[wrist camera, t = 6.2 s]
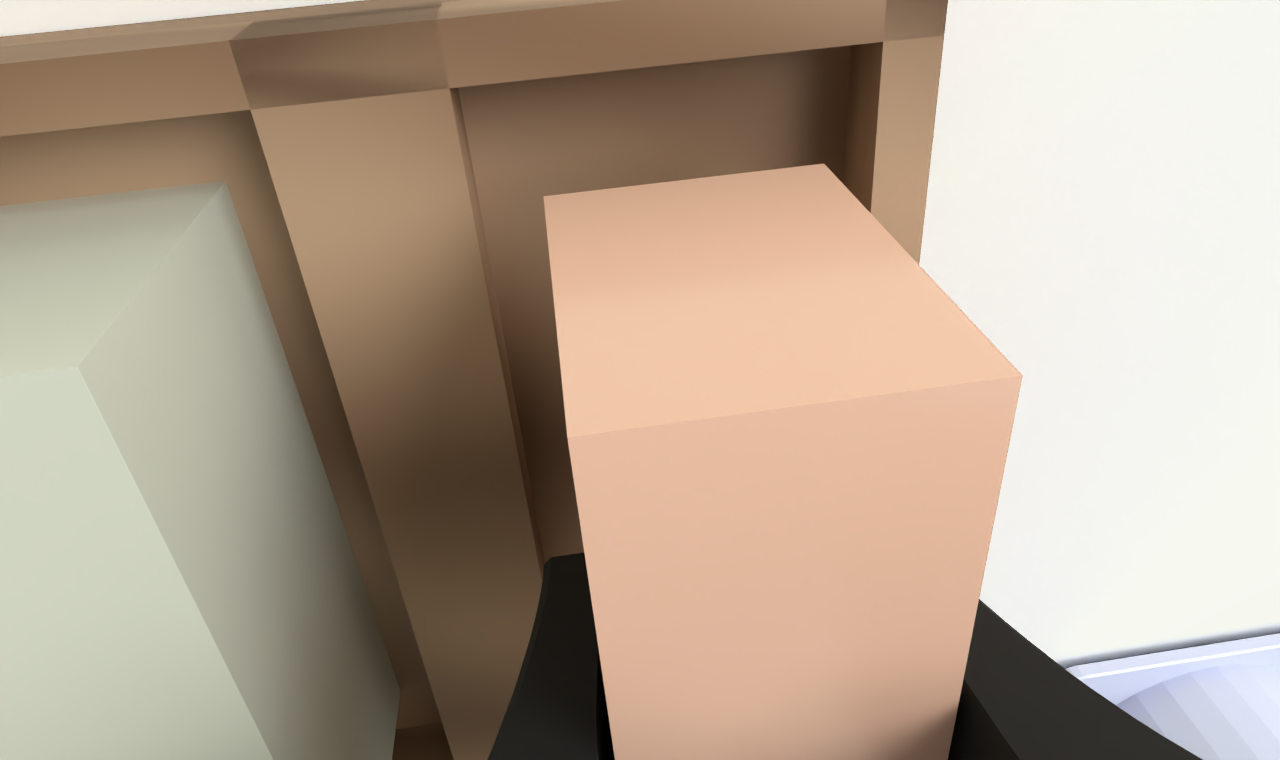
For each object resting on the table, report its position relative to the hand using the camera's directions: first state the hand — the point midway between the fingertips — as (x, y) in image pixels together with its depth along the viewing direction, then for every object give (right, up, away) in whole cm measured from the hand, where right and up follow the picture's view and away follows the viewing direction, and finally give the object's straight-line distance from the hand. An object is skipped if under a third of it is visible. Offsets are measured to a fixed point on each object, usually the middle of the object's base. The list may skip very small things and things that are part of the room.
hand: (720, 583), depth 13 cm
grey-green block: (-8, +1, +2) cm, 9 cm away
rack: (-4, +2, +3) cm, 6 cm away
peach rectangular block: (0, +1, +1) cm, 1 cm away
